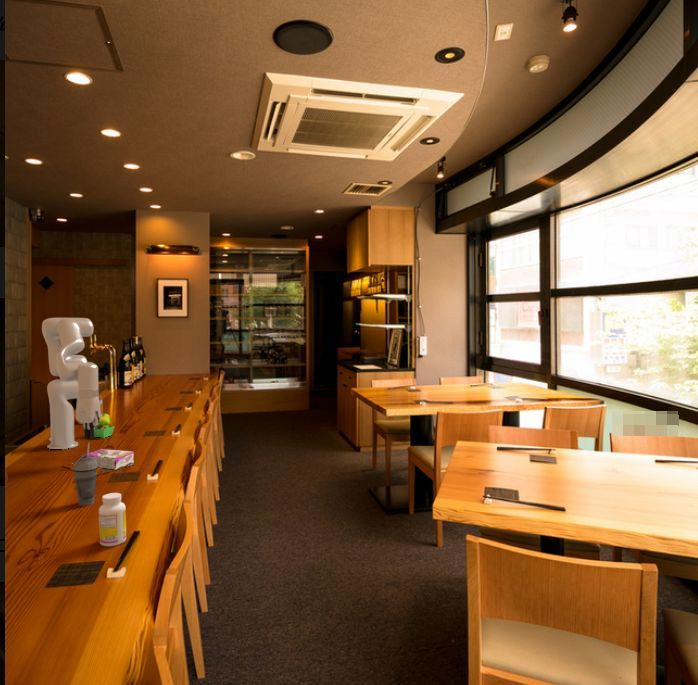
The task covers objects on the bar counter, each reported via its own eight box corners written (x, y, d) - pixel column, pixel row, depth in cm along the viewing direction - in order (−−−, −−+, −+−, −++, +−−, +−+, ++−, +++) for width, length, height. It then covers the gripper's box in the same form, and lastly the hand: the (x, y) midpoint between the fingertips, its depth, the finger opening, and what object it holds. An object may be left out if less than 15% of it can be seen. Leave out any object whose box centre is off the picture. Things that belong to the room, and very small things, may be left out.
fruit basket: (86, 437, 259) (85, 415, 259) (100, 433, 268) (100, 412, 267) (103, 439, 255) (102, 417, 255) (117, 435, 263) (116, 413, 263)
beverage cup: (79, 499, 172) (78, 440, 171) (102, 499, 173) (101, 440, 172) (69, 507, 165) (68, 446, 164) (93, 507, 166) (92, 445, 164)
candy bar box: (101, 447, 219) (134, 451, 214) (101, 459, 219) (134, 463, 214) (81, 454, 208) (115, 458, 203) (81, 466, 208) (115, 470, 204)
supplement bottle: (117, 534, 145) (116, 489, 144) (131, 540, 141) (130, 494, 141) (94, 543, 140) (93, 496, 139) (108, 549, 136) (107, 501, 135)
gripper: (68, 393, 212) (69, 438, 213) (91, 396, 205) (92, 442, 205) (85, 391, 218) (86, 434, 219) (108, 394, 211) (109, 438, 212)
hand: (89, 438), depth 212 cm, fingers closed
